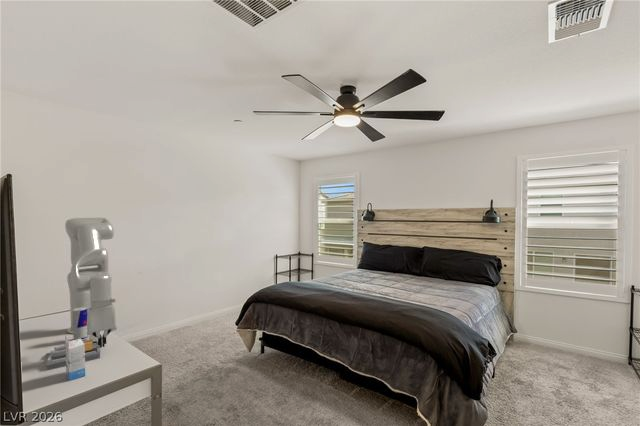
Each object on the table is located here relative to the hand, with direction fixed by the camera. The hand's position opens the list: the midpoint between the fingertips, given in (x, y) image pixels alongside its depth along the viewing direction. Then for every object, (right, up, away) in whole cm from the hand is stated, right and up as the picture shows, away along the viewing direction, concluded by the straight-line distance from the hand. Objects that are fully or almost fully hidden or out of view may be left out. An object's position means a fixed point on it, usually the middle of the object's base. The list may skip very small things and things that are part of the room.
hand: (102, 346), depth 137 cm
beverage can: (-21, -4, +16) cm, 27 cm away
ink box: (+2, -3, -18) cm, 18 cm away
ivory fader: (-8, -1, +6) cm, 11 cm away
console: (-10, -3, -1) cm, 11 cm away
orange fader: (-4, -1, -3) cm, 5 cm away
